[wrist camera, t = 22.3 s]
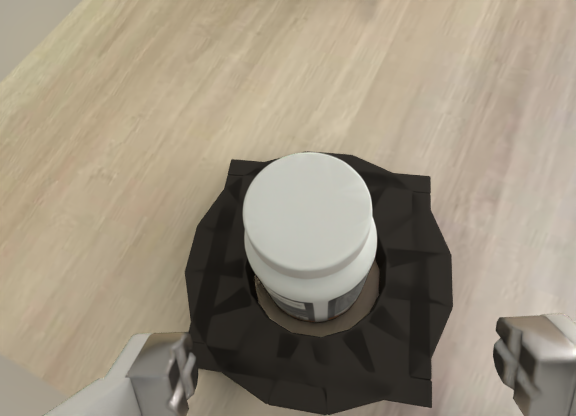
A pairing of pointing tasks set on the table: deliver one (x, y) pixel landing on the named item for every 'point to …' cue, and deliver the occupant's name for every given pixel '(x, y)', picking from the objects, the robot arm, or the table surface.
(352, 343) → the base pad
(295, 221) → the pill bottle
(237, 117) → the table surface
